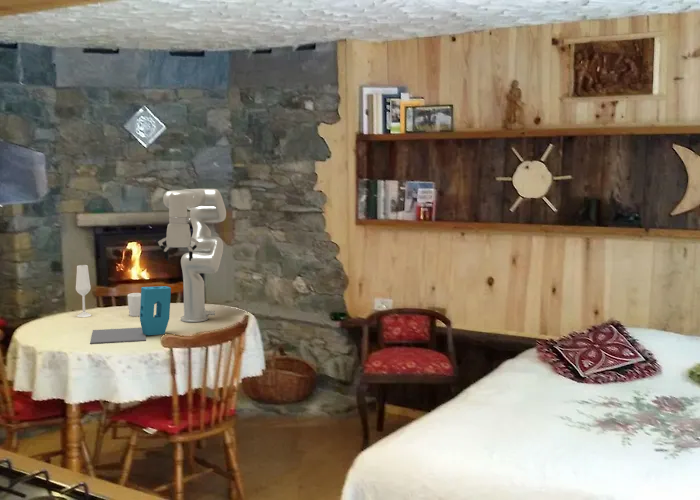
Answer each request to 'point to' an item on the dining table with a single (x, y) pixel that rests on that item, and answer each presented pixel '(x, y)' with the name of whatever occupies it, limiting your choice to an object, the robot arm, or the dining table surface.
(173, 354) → the dining table surface
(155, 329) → the block
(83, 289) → the champagne flute
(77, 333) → the dining table surface
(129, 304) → the white cup
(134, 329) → the gray square mat
